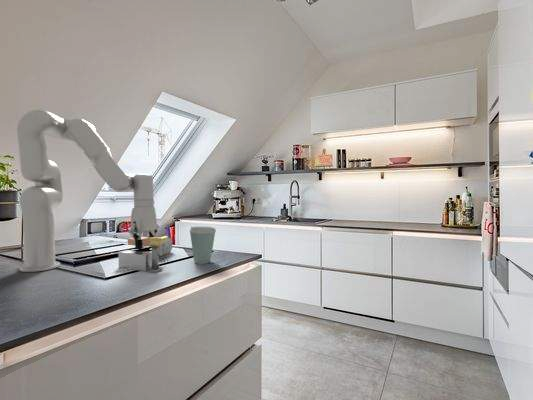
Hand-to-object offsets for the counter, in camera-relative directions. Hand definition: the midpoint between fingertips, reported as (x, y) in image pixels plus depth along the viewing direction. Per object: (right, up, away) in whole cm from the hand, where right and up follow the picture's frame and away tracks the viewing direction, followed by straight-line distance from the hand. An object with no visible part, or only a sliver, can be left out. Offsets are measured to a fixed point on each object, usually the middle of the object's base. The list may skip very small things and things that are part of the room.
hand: (145, 247), depth 126 cm
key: (+9, +3, -9) cm, 14 cm away
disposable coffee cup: (+24, -6, 0) cm, 25 cm away
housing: (+2, -7, -10) cm, 12 cm away
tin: (+3, -6, +14) cm, 16 cm away
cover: (0, +1, 0) cm, 1 cm away
